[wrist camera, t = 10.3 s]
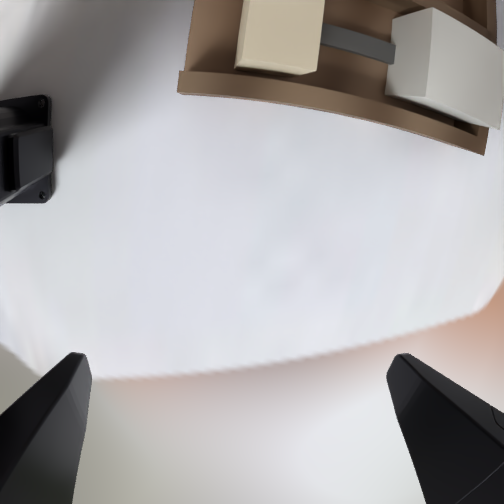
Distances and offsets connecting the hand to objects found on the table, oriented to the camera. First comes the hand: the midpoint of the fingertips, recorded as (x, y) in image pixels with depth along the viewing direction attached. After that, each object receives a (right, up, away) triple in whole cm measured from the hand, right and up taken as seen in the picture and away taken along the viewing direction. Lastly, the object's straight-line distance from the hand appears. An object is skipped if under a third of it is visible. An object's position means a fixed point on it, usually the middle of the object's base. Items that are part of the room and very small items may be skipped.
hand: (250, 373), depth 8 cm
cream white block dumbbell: (+7, +14, +6) cm, 17 cm away
